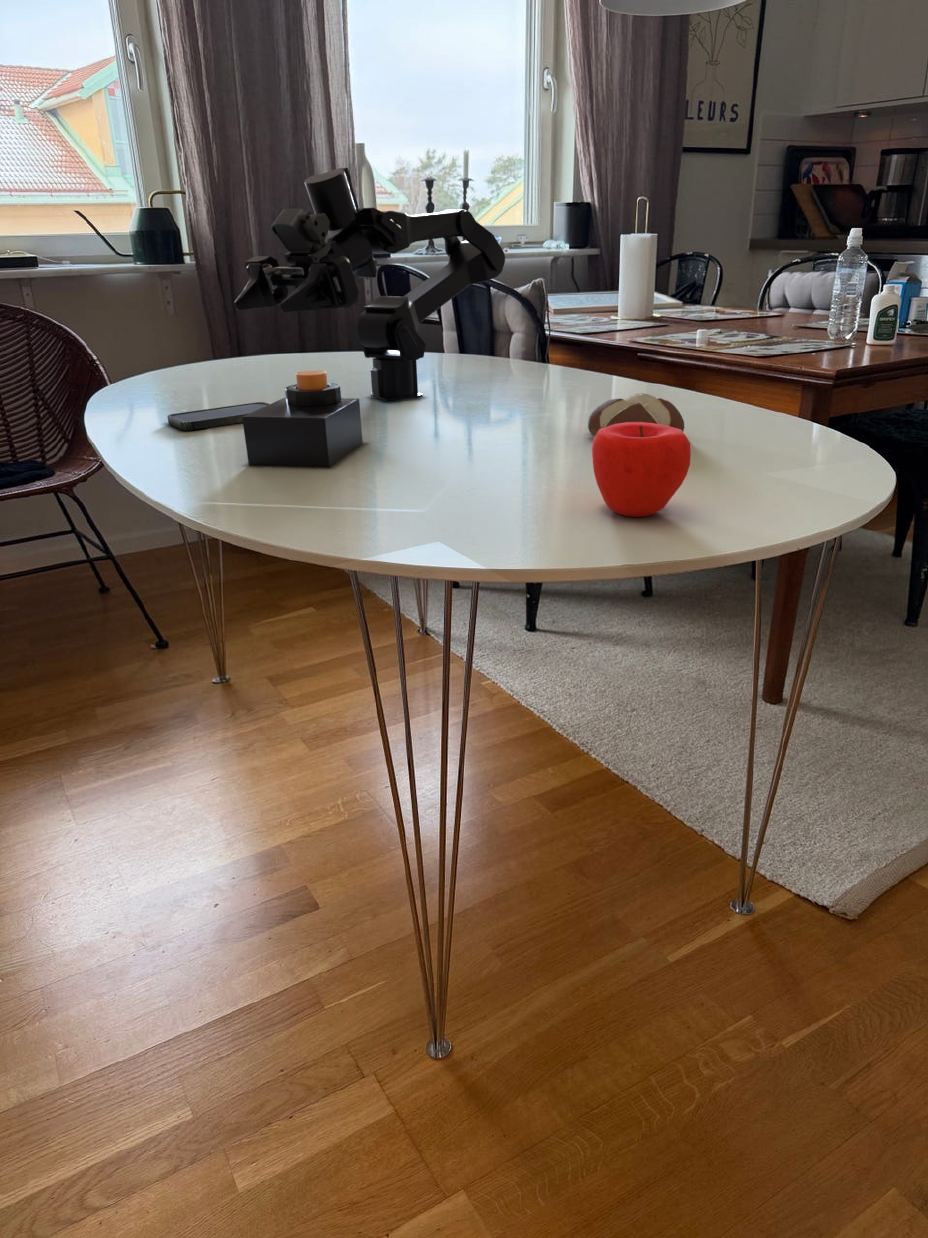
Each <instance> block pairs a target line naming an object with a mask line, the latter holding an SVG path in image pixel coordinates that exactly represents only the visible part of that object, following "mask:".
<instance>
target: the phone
mask: <svg viewBox="0 0 928 1238" xmlns="http://www.w3.org/2000/svg"><path fill="white" fill-rule="evenodd" d="M269 404H270V403H268V402H265V401H258V402H256V401H255V402H249V403H248V402H247V403H242V404H233V405H228V406H220V407H213V408H205V409H198V410H190V411H185V412H184V411H183V412H176V413H171V414H168V415H167V416H166V417H167V423H168V425H171V426H172V427H175V428H177V429H179V430H181V431H194V430H199V429H207V428H214V427H220V426H221V427H222V426H227V425H233V424H241V423H243V419H242V417H243V416H245V415H247V414H250V413H252V412H254V411H256V410H258V409H261V408H263V407H265V406H267V405H269Z"/></svg>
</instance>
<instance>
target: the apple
mask: <svg viewBox="0 0 928 1238" xmlns="http://www.w3.org/2000/svg"><path fill="white" fill-rule="evenodd" d="M691 448H692V447H691V442H690V440H689V439H688V437H687V435H686V434H685V432H684V431H682V430H681V429H677V428H674V427H670V426H666V425H661V424H655V423H646V422H625V423H618V424H614V425H611V426H608V427H605V428H602V429H599V431H598V432H597V434H596V436H594V437H593V438H592V443H591V458H592V468H593V474H594V478H595V481H596V485H597V487H598V490H599V492H600V494H601V497H602V499H603V501H604V503H605V505H606V506H607V508H608V509H609V510H611V511H612V512H614V513H616V514H618V515H620V516H621V515H622V516H624V517H630V518H643V517H644V518H645V517H648V516H649V517H650V516H652V515H654V514H656V513H658V512H659V511H662V510H663V509H664V508H665V507H666V506H667V504H668V503H669V502H670V500H671V499H672V498H673V497H674V495H675V494H676V492H677V491H678V490H679V489H680V487H681V486H682V485H683V483H684V481H685V479H686V477H687V475H688V472H689V469H690V465H691V457H692V449H691Z"/></svg>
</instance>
